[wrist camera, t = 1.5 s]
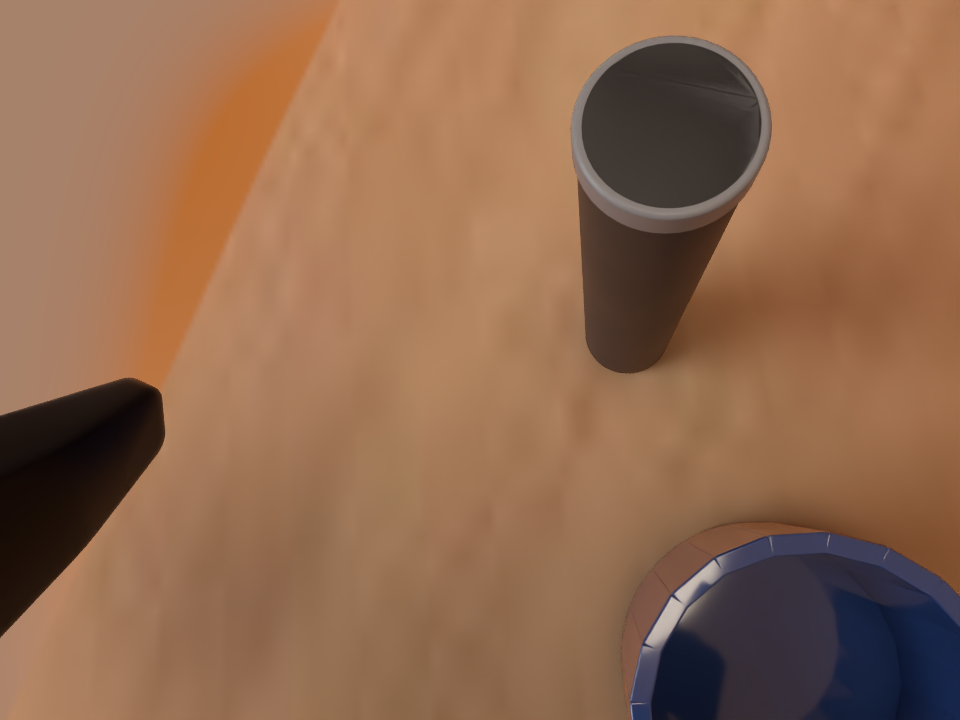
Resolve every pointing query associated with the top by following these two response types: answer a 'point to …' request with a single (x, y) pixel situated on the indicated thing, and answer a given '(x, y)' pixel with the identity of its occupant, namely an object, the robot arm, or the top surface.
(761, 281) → the top surface
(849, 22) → the top surface
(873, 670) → the blue cup
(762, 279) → the top surface
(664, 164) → the gray cylinder
